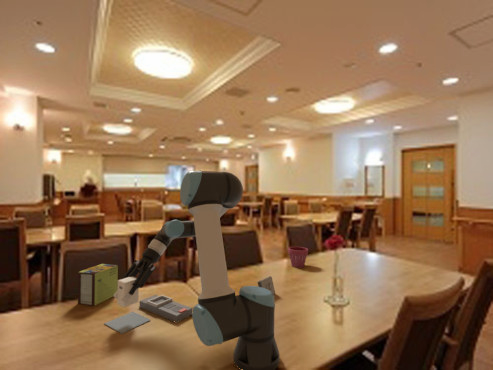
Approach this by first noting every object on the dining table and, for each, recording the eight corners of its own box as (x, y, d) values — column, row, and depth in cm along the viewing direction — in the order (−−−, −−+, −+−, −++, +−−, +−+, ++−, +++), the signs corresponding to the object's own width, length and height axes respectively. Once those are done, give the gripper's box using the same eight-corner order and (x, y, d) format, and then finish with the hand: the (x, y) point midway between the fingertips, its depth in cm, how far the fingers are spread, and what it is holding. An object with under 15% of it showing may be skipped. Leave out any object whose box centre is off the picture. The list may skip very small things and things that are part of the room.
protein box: (117, 294, 144) (118, 264, 144) (94, 306, 129) (94, 273, 130) (101, 292, 147) (102, 263, 147) (77, 303, 132) (77, 271, 132)
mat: (150, 320, 116) (150, 319, 116) (121, 333, 105) (121, 332, 105) (132, 312, 123) (132, 311, 123) (104, 324, 112) (104, 323, 112)
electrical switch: (265, 299, 139) (264, 280, 140) (257, 297, 142) (256, 279, 143) (275, 293, 146) (274, 276, 147) (267, 292, 150) (266, 275, 150)
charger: (138, 302, 116) (138, 278, 116) (123, 307, 110) (124, 282, 110) (131, 299, 119) (131, 276, 119) (117, 304, 113) (117, 280, 113)
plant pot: (310, 265, 201) (310, 247, 201) (303, 269, 189) (304, 251, 189) (292, 262, 209) (292, 245, 209) (285, 266, 197) (285, 249, 197)
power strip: (192, 314, 121) (192, 305, 121) (176, 322, 114) (176, 312, 114) (155, 300, 136) (155, 292, 136) (139, 307, 129) (139, 298, 129)
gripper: (171, 259, 122) (138, 309, 108) (147, 253, 132) (113, 298, 119) (162, 249, 118) (126, 300, 104) (137, 244, 128) (101, 290, 114)
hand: (119, 299), depth 111 cm, fingers closed on charger, 5 cm apart
